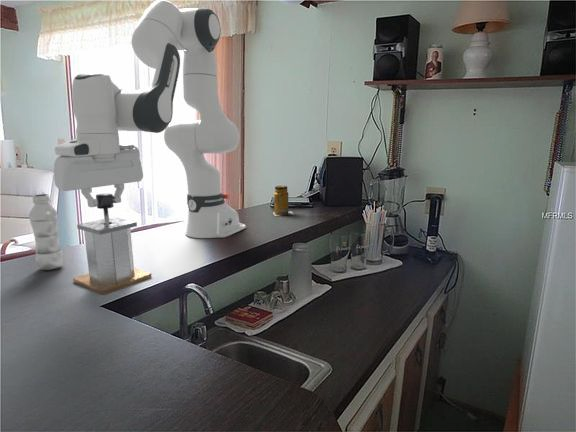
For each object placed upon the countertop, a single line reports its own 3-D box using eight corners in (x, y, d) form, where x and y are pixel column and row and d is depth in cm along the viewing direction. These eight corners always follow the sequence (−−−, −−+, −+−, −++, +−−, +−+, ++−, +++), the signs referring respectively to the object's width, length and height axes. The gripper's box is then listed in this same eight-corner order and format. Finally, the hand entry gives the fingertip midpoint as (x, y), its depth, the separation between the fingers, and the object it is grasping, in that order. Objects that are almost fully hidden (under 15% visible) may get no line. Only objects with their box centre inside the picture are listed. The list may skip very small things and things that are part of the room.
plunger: (115, 256, 104) (109, 191, 100) (131, 261, 101) (124, 194, 97) (91, 263, 99) (83, 195, 95) (106, 269, 95) (98, 198, 92)
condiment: (272, 212, 176) (272, 185, 174) (291, 211, 178) (291, 184, 175) (274, 216, 169) (274, 188, 167) (294, 215, 171) (294, 187, 168)
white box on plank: (121, 267, 110) (116, 215, 106) (151, 277, 102) (146, 221, 99) (73, 282, 99) (66, 225, 96) (103, 294, 92) (96, 233, 89)
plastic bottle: (53, 273, 105) (42, 197, 100) (30, 271, 106) (19, 197, 102) (70, 265, 111) (61, 193, 107) (49, 263, 112) (39, 192, 108)
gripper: (130, 143, 103) (135, 196, 107) (46, 147, 87) (55, 210, 90) (145, 144, 100) (150, 199, 103) (61, 148, 84) (69, 213, 87)
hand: (105, 204), depth 97 cm, fingers open, 5 cm apart
